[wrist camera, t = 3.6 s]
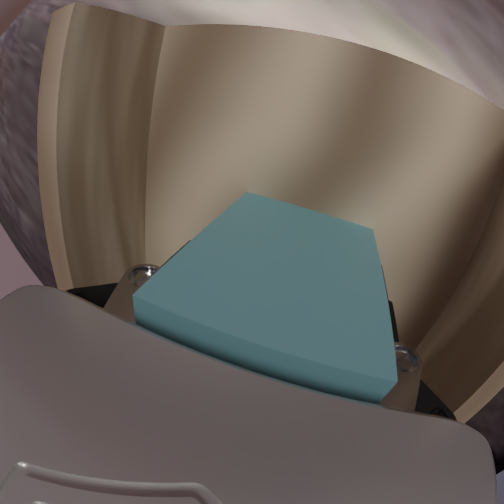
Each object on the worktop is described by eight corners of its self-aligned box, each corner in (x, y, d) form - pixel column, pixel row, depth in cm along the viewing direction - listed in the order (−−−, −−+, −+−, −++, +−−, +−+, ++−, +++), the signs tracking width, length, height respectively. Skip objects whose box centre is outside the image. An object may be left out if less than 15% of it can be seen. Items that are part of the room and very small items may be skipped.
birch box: (529, 132, 6) (616, 160, 2) (407, 377, 13) (412, 461, 9) (149, 30, 9) (53, 11, 4) (136, 290, 16) (77, 348, 11)
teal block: (372, 228, 10) (397, 381, 4) (331, 325, 13) (307, 468, 7) (246, 191, 11) (131, 294, 5) (229, 293, 13) (153, 414, 7)
